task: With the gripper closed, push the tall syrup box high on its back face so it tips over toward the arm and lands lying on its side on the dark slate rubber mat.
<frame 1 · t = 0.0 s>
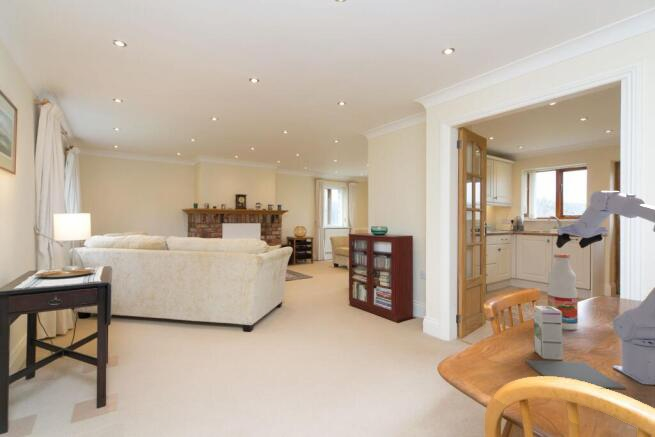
hand: (569, 245, 112), 32 cm above the table, tool tilted 50°, fingers open, 7 cm apart
fruit juice: (562, 326, 124), on the table
syrup box: (547, 356, 97), on the table
slate mat: (571, 374, 85), on the table
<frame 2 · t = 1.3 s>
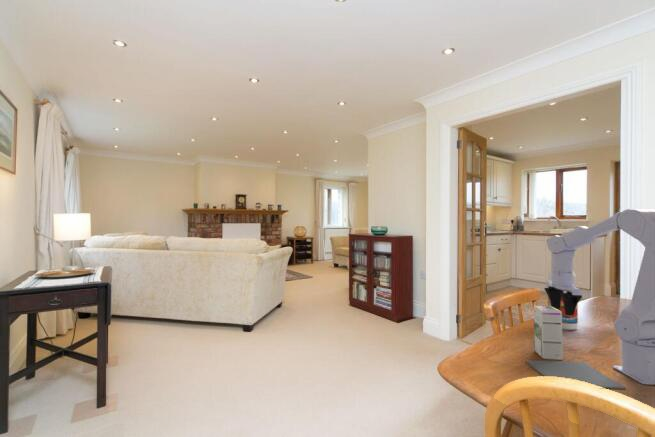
hand: (562, 311, 107), 10 cm above the table, tool pointing down, fingers open, 6 cm apart
nothing on the table moved.
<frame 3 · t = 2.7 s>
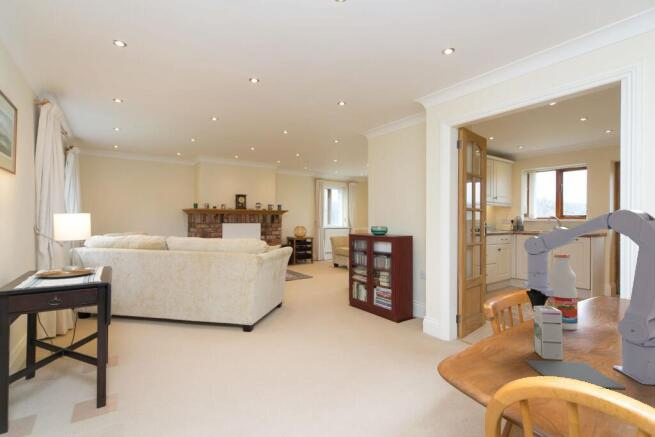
hand: (537, 312, 107), 10 cm above the table, tool pointing down, fingers closed
nothing on the table moved.
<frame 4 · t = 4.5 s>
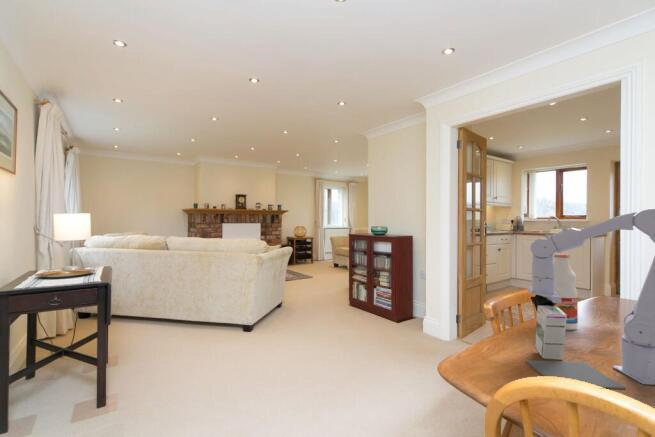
hand: (543, 320, 99), 10 cm above the table, tool pointing down, fingers closed
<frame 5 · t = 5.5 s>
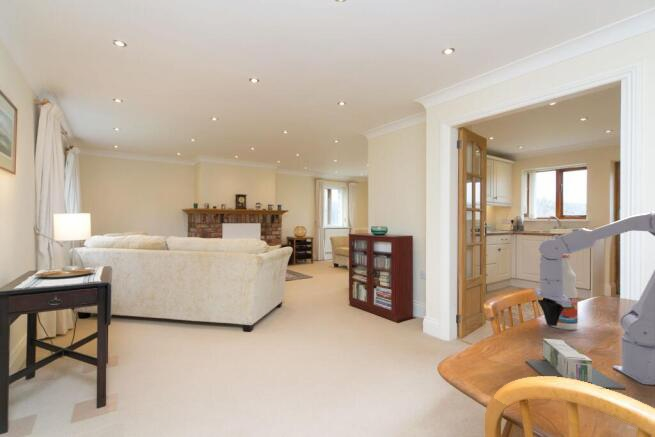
hand: (551, 325, 95), 10 cm above the table, tool pointing down, fingers closed
syrup box: (552, 348, 94), point 3 cm above the table, touching slate mat
everything else where it was.
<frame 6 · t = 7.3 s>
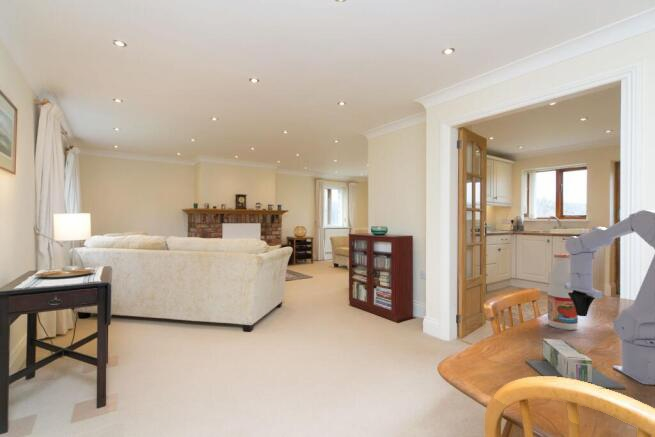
hand: (581, 315, 103), 10 cm above the table, tool pointing down, fingers closed
nothing on the table moved.
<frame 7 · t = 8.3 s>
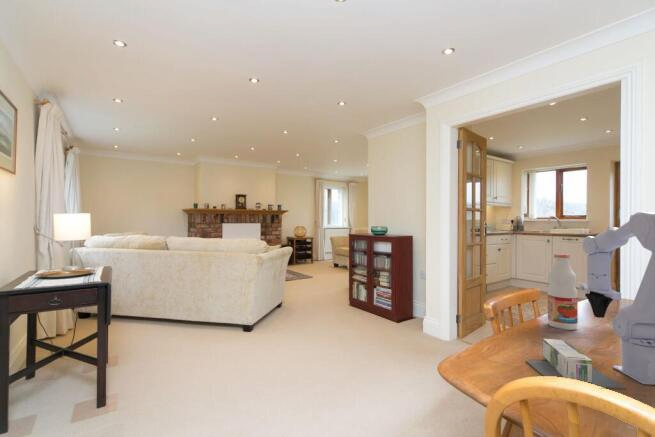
hand: (599, 317, 101), 10 cm above the table, tool pointing down, fingers closed
nothing on the table moved.
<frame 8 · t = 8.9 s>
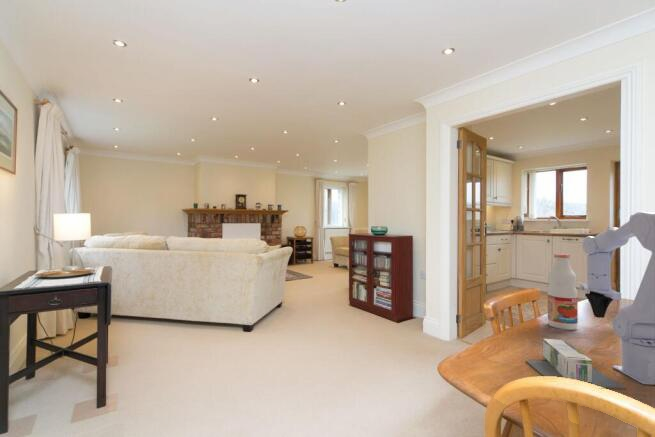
hand: (599, 317, 101), 10 cm above the table, tool pointing down, fingers closed
nothing on the table moved.
at the end: syrup box tilted 90°; syrup box touching slate mat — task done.
